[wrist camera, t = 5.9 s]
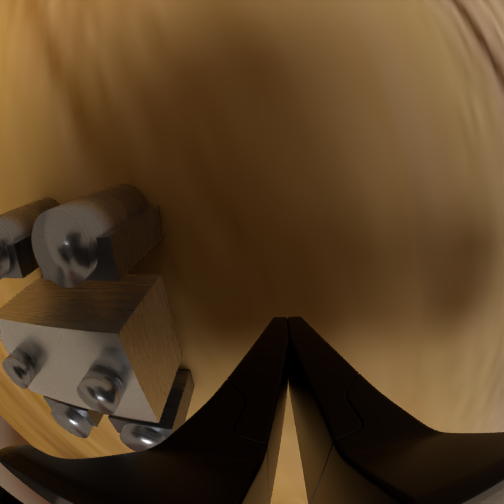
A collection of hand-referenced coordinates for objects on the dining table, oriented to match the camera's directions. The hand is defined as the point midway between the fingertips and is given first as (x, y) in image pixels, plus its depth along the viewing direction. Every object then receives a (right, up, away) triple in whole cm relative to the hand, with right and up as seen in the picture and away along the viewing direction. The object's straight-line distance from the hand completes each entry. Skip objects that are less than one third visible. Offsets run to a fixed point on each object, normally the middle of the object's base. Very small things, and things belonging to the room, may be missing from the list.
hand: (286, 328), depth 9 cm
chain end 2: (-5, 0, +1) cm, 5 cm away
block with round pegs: (-7, 0, +1) cm, 7 cm away
